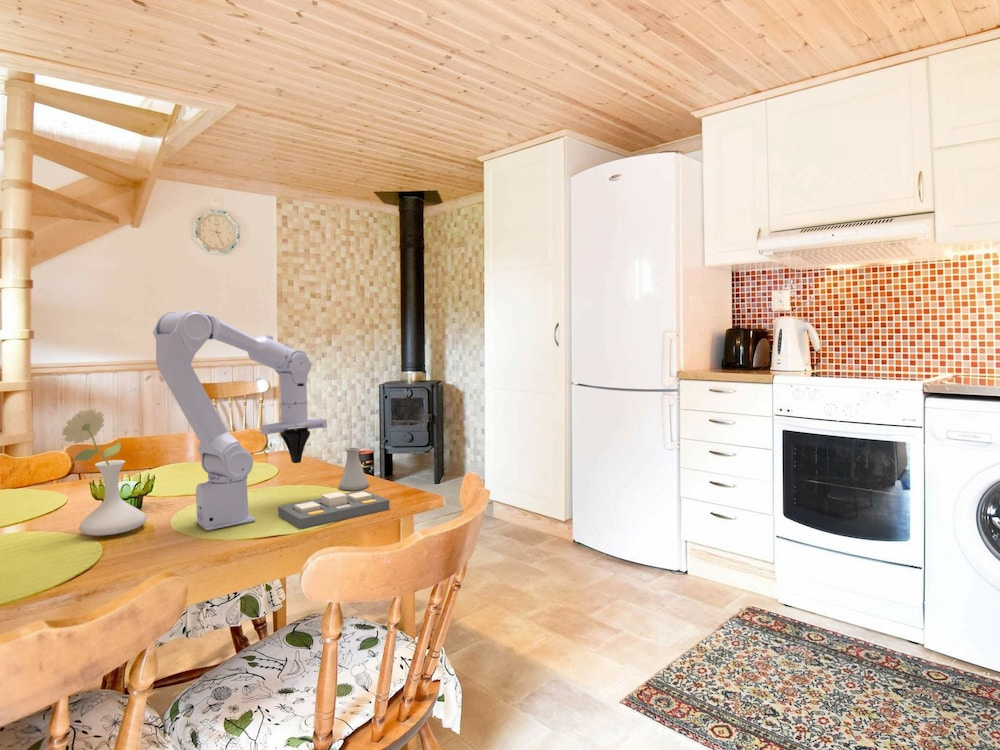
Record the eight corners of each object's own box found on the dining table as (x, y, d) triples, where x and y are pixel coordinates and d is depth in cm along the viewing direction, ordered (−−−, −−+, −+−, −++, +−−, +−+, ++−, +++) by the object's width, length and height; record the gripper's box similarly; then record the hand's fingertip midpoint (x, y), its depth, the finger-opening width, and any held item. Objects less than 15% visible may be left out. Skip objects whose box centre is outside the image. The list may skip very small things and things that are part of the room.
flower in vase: (134, 519, 128) (127, 401, 127) (156, 529, 121) (150, 405, 119) (60, 535, 118) (52, 408, 117) (80, 547, 111) (72, 412, 109)
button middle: (329, 507, 128) (329, 498, 128) (321, 504, 131) (321, 494, 131) (347, 504, 131) (347, 495, 130) (339, 500, 134) (338, 491, 134)
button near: (302, 518, 124) (301, 508, 124) (294, 514, 127) (294, 504, 127) (320, 514, 127) (320, 505, 127) (313, 510, 130) (312, 501, 130)
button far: (355, 507, 132) (355, 498, 132) (347, 503, 135) (347, 494, 135) (372, 503, 135) (372, 494, 134) (363, 500, 138) (363, 491, 137)
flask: (332, 489, 151) (331, 449, 150) (352, 483, 157) (351, 444, 157) (355, 492, 147) (354, 452, 147) (374, 486, 154) (373, 447, 153)
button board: (300, 529, 120) (300, 518, 120) (278, 515, 129) (278, 505, 129) (389, 509, 133) (389, 499, 133) (363, 498, 142) (363, 489, 142)
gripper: (267, 407, 130) (270, 469, 131) (331, 401, 139) (333, 460, 140) (256, 404, 135) (259, 464, 136) (319, 399, 144) (320, 455, 145)
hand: (296, 462), depth 138 cm, fingers closed
